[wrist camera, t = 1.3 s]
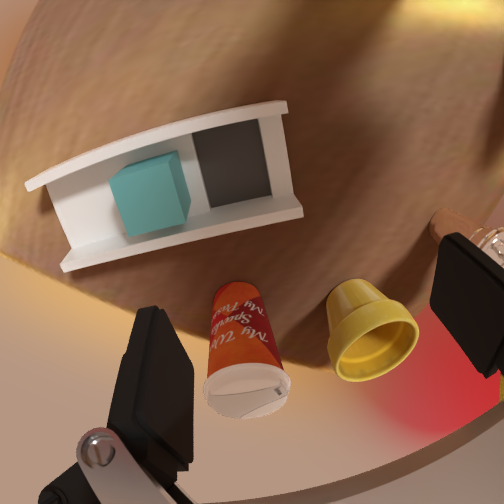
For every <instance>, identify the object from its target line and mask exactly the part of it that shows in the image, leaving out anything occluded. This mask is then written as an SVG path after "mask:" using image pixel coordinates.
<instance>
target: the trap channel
mask: <svg viewBox="0 0 504 504" xmlns="http://www.w3.org/2000/svg"><path fill="white" fill-rule="evenodd" d="M286 113H288V107H287V102H286V101H281V100H274V101H267V102H261V103H256V104H250V105H245V106H240V107H235V108H230V109H225V110H220V111H216V112H212V113H207V114H203V115H199V116H195V117H191V118H187V119H184V120H180V121H176V122H173V123H169V124H166V125H162V126H159V127H156V128H152V129H149V130H146V131H143V132H140V133H137V134H134V135H131V136H128V137H125V138H122V139H119V140H117V141H114V142H111V143H108V144H106V145H103V146H101V147H98V148H95V149H93V150H90V151H88V152H85V153H83V154H81V155H78V156H76V157H73V158H71V159H69V160H67V161H64V162H62V163H60V164H58V165H55V166H53V167H51V168H49V169H47V170H45V171H43V172H42V173H40V174H38V175H37V176H35V177H33V178H31V179H30V180H28V181H27V182H25V185H26V188H27V191H28V192H30V191H32V190H34V189H36V188H38V187H40V186H42V185H44V184H46V187H47V190H48V193H49V195H50V198H51V201H52V203H53V206H54V208H55V211H56V213H57V216H58V218H59V220H60V223H61V225H62V227H63V230H64V232H65V234H66V236H67V239H68V241H69V243H70V245H71V247H72V249H71V250H70V252H69V253H68V254H67V255H66V257H65V258H64V259H63V261H62V262H61V263H60V266H61V268H62V270H63V272H68V271H72V270H76V269H80V268H84V267H88V266H92V265H96V264H100V263H104V262H108V261H112V260H116V259H120V258H124V257H128V256H132V255H136V254H140V253H144V252H149V251H153V250H157V249H161V248H166V247H170V246H174V245H178V244H183V243H187V242H191V241H196V240H200V239H205V238H209V237H213V236H218V235H222V234H227V233H231V232H236V231H240V230H245V229H250V228H254V227H259V226H264V225H268V224H273V223H278V222H282V221H287V220H292V219H297V218H302V217H304V215H303V207H302V205H301V204H300V202H299V201H298V199H297V198H296V197H295V195H294V193H293V186H292V179H291V173H290V166H289V160H288V154H287V147H286V141H285V135H284V129H283V124H282V118H281V114H286ZM176 150H177V151H178V154H179V158H180V162H181V166H182V169H183V173H184V177H185V180H186V184H187V187H188V191H189V194H190V198H191V204H190V208H189V213H188V217H187V221H186V223H183V224H179V225H175V226H171V227H167V228H163V229H159V230H155V231H151V232H147V233H143V234H139V235H135V236H132V237H129V236H128V234H127V231H126V228H125V226H124V223H123V221H122V218H121V215H120V213H119V210H118V207H117V205H116V202H115V199H114V196H113V193H112V191H111V188H110V185H109V182H108V180H109V179H111V178H112V177H113V176H114V175H115V174H117V173H118V172H119V171H120V170H121V169H123V168H124V167H125V166H126V165H129V164H132V163H135V162H138V161H142V160H145V159H148V158H151V157H155V156H158V155H162V154H165V153H169V152H172V151H176Z"/></svg>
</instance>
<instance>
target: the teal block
mask: <svg viewBox="0 0 504 504" xmlns="http://www.w3.org/2000/svg"><path fill="white" fill-rule="evenodd" d="M108 182H109V185H110V188H111V191H112V193H113V196H114V199H115V202H116V205H117V207H118V210H119V213H120V215H121V218H122V221H123V223H124V226H125V228H126V231H127V234H128V236H129V237H132V236H135V235H139V234H143V233H147V232H151V231H155V230H159V229H163V228H167V227H171V226H175V225H179V224H183V223H186V221H187V217H188V213H189V208H190V204H191V198H190V194H189V191H188V187H187V184H186V180H185V177H184V173H183V169H182V166H181V162H180V158H179V154H178V151H177V150H176V151H172V152H169V153H165V154H162V155H158V156H155V157H151V158H148V159H145V160H142V161H138V162H135V163H132V164H129V165H126V166H125V167H124V168H123V169H121V170H120V171H119V172H118V173H117V174H115V175H114V176H113V177H112V178H111V179H109V180H108Z"/></svg>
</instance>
